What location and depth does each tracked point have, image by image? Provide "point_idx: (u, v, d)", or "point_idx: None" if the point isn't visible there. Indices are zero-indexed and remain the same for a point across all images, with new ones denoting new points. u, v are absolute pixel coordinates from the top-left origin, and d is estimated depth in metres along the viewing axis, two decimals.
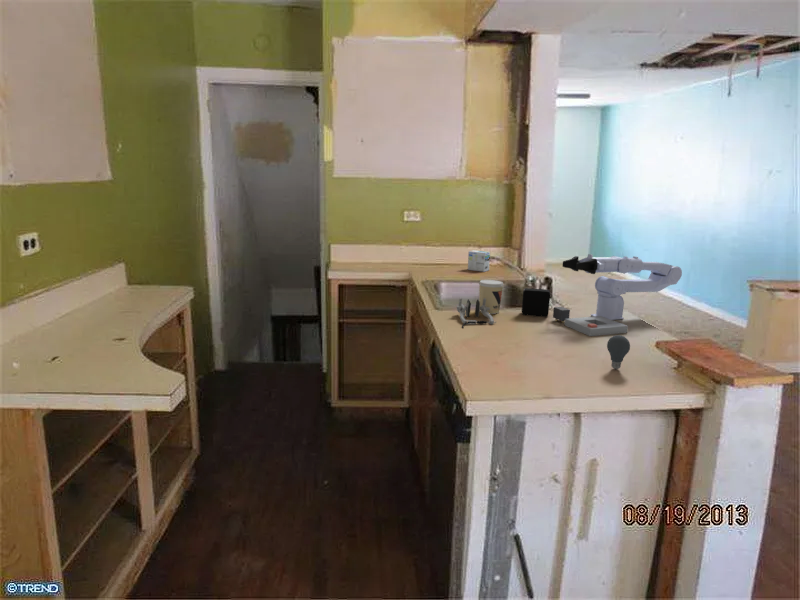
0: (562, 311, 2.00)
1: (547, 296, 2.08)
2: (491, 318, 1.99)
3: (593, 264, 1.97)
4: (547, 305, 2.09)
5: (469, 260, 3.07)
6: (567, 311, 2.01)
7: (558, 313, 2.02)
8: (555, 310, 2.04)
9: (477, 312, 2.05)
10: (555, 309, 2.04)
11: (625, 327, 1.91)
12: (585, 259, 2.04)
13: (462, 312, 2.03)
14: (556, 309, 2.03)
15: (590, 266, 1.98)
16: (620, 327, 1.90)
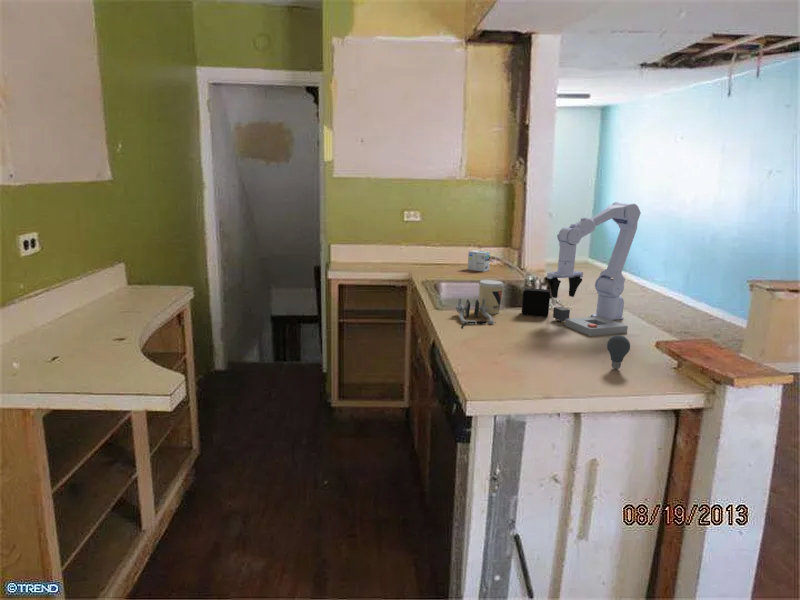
0: (562, 311, 2.00)
1: (547, 296, 2.08)
2: (490, 318, 1.99)
3: None
4: (547, 305, 2.09)
5: (469, 260, 3.07)
6: (567, 311, 2.01)
7: (558, 313, 2.02)
8: (555, 310, 2.04)
9: (476, 312, 2.05)
10: (555, 309, 2.04)
11: (625, 327, 1.91)
12: None
13: (461, 312, 2.03)
14: (556, 309, 2.03)
15: None
16: (620, 327, 1.90)
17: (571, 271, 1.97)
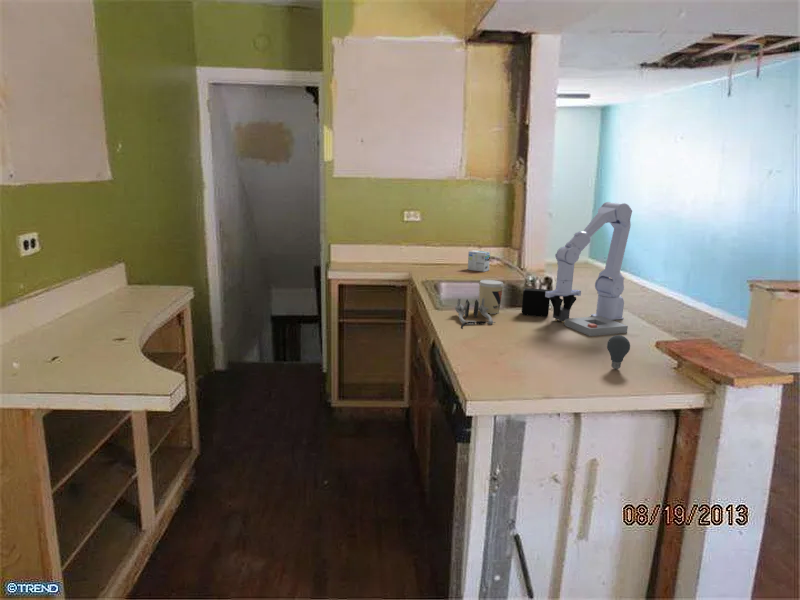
0: (562, 311, 2.00)
1: None
2: (490, 318, 1.99)
3: (554, 298, 2.01)
4: (547, 305, 2.09)
5: (469, 260, 3.07)
6: (567, 311, 2.01)
7: None
8: None
9: (476, 312, 2.05)
10: None
11: (625, 327, 1.91)
12: None
13: (461, 312, 2.03)
14: None
15: None
16: (620, 327, 1.90)
17: (569, 290, 1.99)
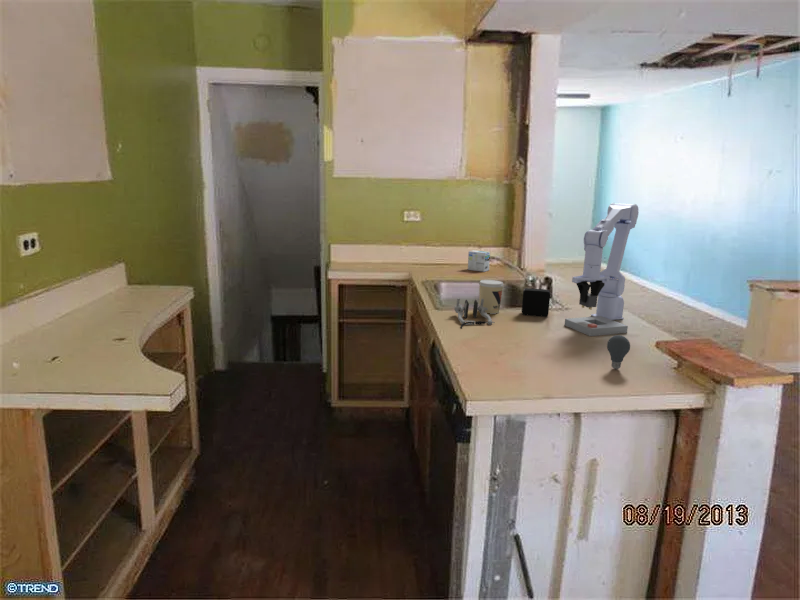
0: (589, 297, 1.92)
1: (547, 296, 2.08)
2: (489, 318, 1.99)
3: None
4: (547, 305, 2.09)
5: (469, 260, 3.07)
6: (594, 297, 1.93)
7: None
8: None
9: (475, 312, 2.04)
10: None
11: (625, 327, 1.91)
12: None
13: (460, 312, 2.02)
14: None
15: None
16: (620, 327, 1.90)
17: (597, 275, 1.91)
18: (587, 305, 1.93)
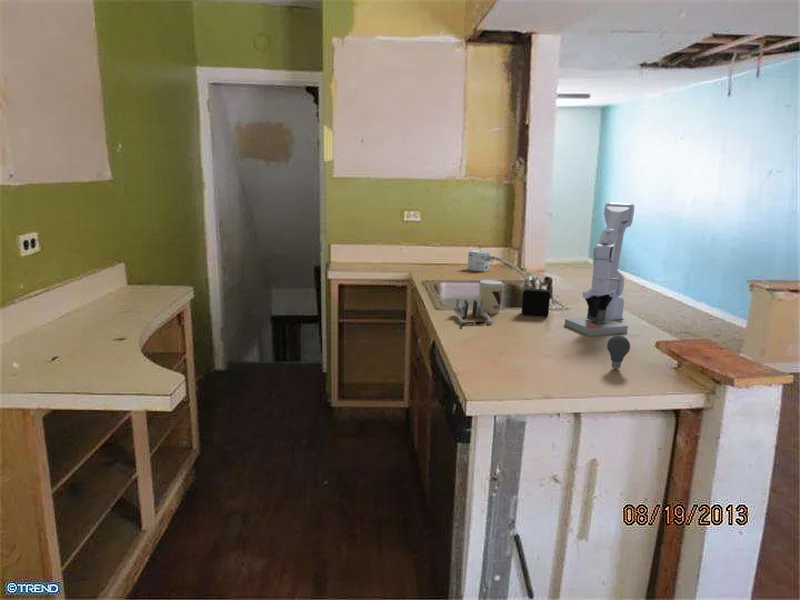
0: (599, 312, 1.91)
1: (547, 296, 2.08)
2: (489, 318, 1.99)
3: None
4: (547, 305, 2.09)
5: (469, 260, 3.07)
6: (603, 312, 1.92)
7: None
8: None
9: (474, 312, 2.04)
10: None
11: (625, 327, 1.91)
12: None
13: (459, 312, 2.02)
14: None
15: None
16: (620, 327, 1.90)
17: (607, 289, 1.90)
18: (597, 320, 1.92)
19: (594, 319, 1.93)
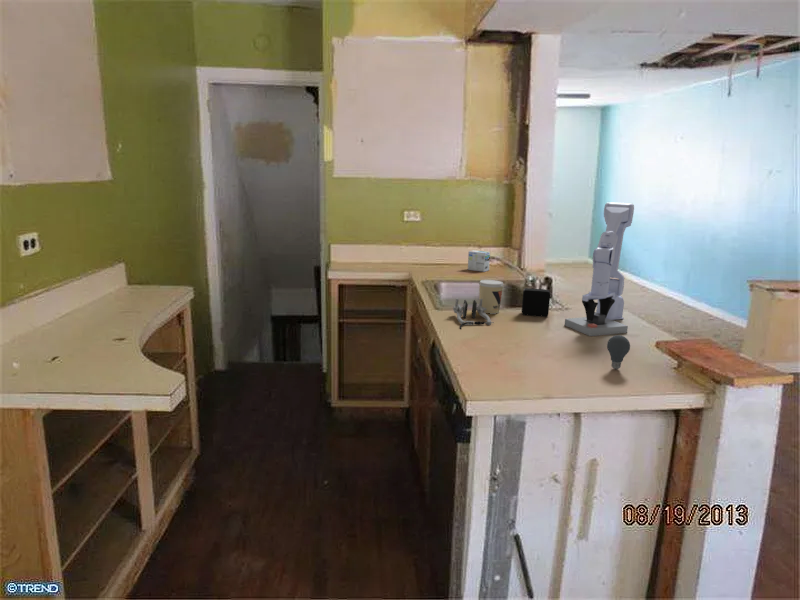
0: (599, 317, 1.91)
1: (547, 296, 2.08)
2: (488, 319, 1.99)
3: None
4: (547, 305, 2.09)
5: (469, 260, 3.07)
6: (603, 317, 1.92)
7: (594, 319, 1.93)
8: None
9: (474, 312, 2.04)
10: None
11: (625, 327, 1.91)
12: None
13: (459, 313, 2.02)
14: None
15: None
16: (620, 327, 1.90)
17: (606, 292, 1.90)
18: None
19: None
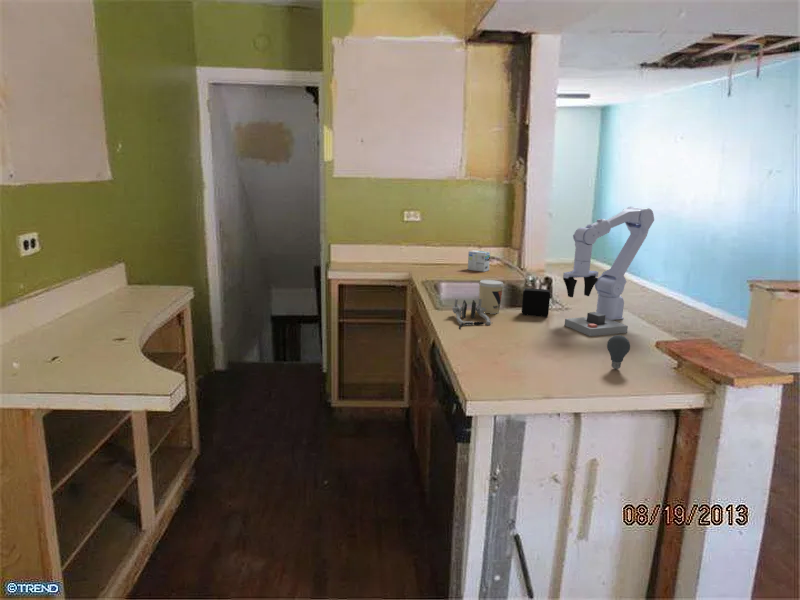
0: (599, 317, 1.91)
1: (547, 296, 2.08)
2: (488, 319, 1.98)
3: (567, 279, 2.01)
4: (547, 305, 2.09)
5: (469, 260, 3.07)
6: (603, 317, 1.92)
7: (594, 319, 1.93)
8: (589, 316, 1.95)
9: (473, 313, 2.04)
10: (589, 315, 1.94)
11: (625, 327, 1.91)
12: None
13: (458, 313, 2.02)
14: (591, 315, 1.94)
15: None
16: (620, 327, 1.90)
17: (587, 271, 1.99)
18: None
19: None
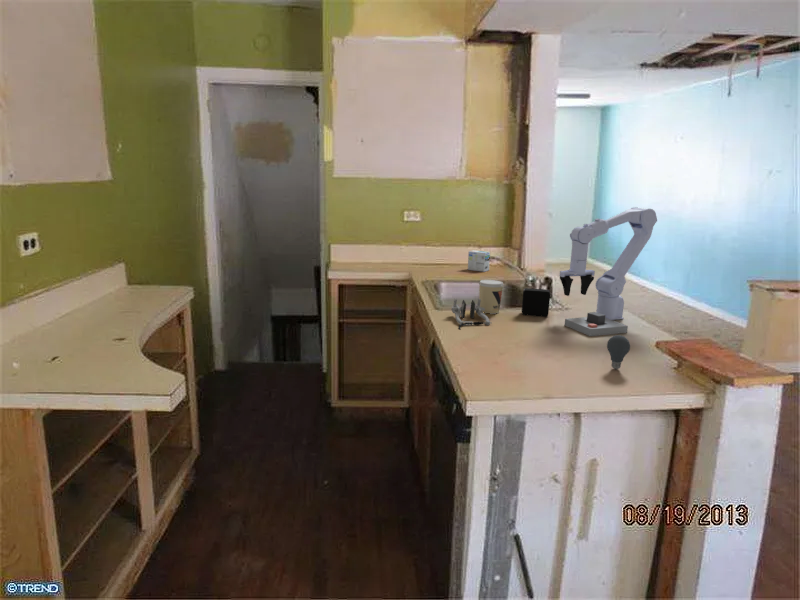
0: (599, 317, 1.91)
1: (547, 296, 2.08)
2: (487, 319, 1.98)
3: (564, 278, 2.04)
4: (547, 305, 2.09)
5: (469, 260, 3.07)
6: (603, 317, 1.92)
7: (594, 319, 1.93)
8: (589, 316, 1.95)
9: (472, 313, 2.04)
10: (589, 315, 1.94)
11: (625, 327, 1.91)
12: None
13: (457, 313, 2.01)
14: (591, 315, 1.94)
15: None
16: (620, 327, 1.90)
17: (583, 269, 2.01)
18: None
19: None
